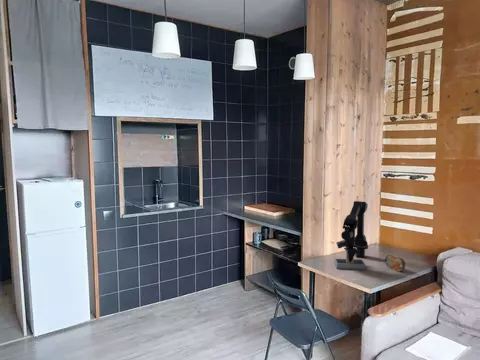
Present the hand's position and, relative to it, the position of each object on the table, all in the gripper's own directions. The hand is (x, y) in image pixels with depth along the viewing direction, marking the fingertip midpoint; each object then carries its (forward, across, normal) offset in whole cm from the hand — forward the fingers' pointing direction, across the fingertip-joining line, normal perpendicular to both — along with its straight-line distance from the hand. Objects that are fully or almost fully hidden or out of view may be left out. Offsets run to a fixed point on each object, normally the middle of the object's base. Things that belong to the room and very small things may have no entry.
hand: (349, 260), depth 239 cm
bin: (+4, 0, 0) cm, 4 cm away
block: (+2, 0, 0) cm, 2 cm away
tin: (+4, +1, +28) cm, 28 cm away
